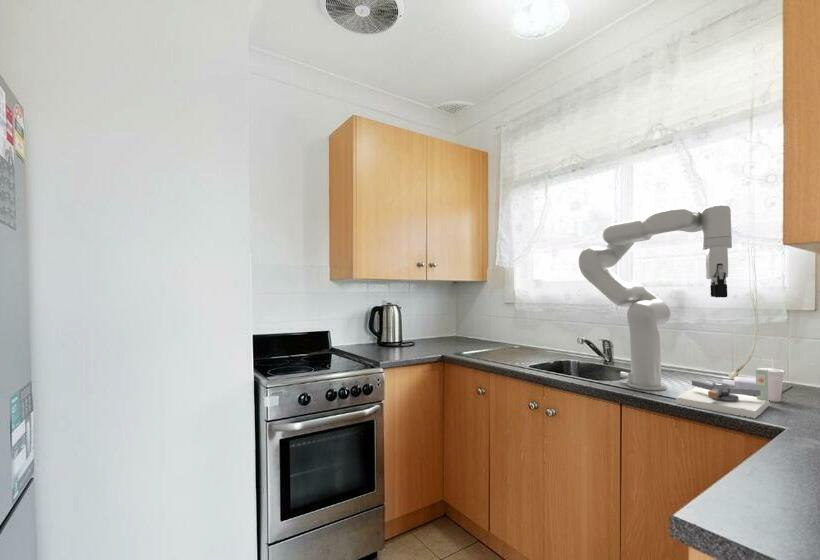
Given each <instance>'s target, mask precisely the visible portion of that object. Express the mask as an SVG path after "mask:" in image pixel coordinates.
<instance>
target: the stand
mask: <svg viewBox="0 0 820 560" xmlns="http://www.w3.org/2000/svg"><path fill="white" fill-rule="evenodd" d="M759 368H760V367H759ZM759 368H755V378H756V389H759V390H760V394H761V396H757V395H756V396H755V395H742V394H733V395H736V396H738V397H739V400H738V401H723V400H717V399H713V398H708V392H709V391H710V390H707V389H704V388H700V387H696V386H694V387H693V388H691V389H689V390H687V391H685V392H683V393H681V394H680V395H678V396H676V397H675V404H676V405H681V406H682V405H683V406H687V407H693V408H697V409H702V410H707V411H714V412H718V413H724V414H729V415H735V416H739V415H740V416H739V417H744V416H746V417H745V418H750V417H751V418H752V419H755V418H756V417H757V416H758V415H759V416H760V415H761V414H762V413H763V412H764V411H765V410H766V409H767V408H768V407H770V401H769V391H768V369H759ZM729 394H730V393H729ZM759 416H758V417H759ZM758 417H757V418H758Z"/></svg>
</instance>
